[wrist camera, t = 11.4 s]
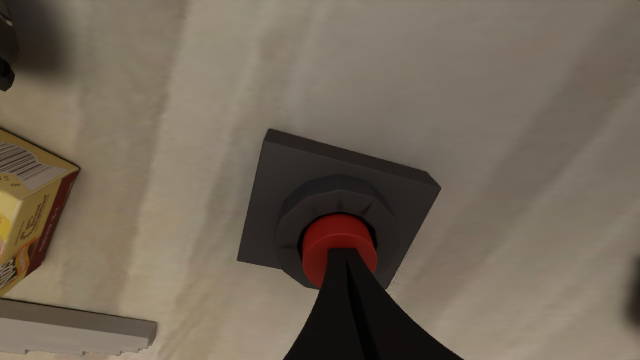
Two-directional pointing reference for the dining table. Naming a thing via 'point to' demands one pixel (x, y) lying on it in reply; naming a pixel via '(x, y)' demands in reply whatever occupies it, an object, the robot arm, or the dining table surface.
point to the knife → (69, 331)
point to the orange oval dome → (7, 48)
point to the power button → (335, 243)
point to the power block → (330, 203)
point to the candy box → (28, 205)
